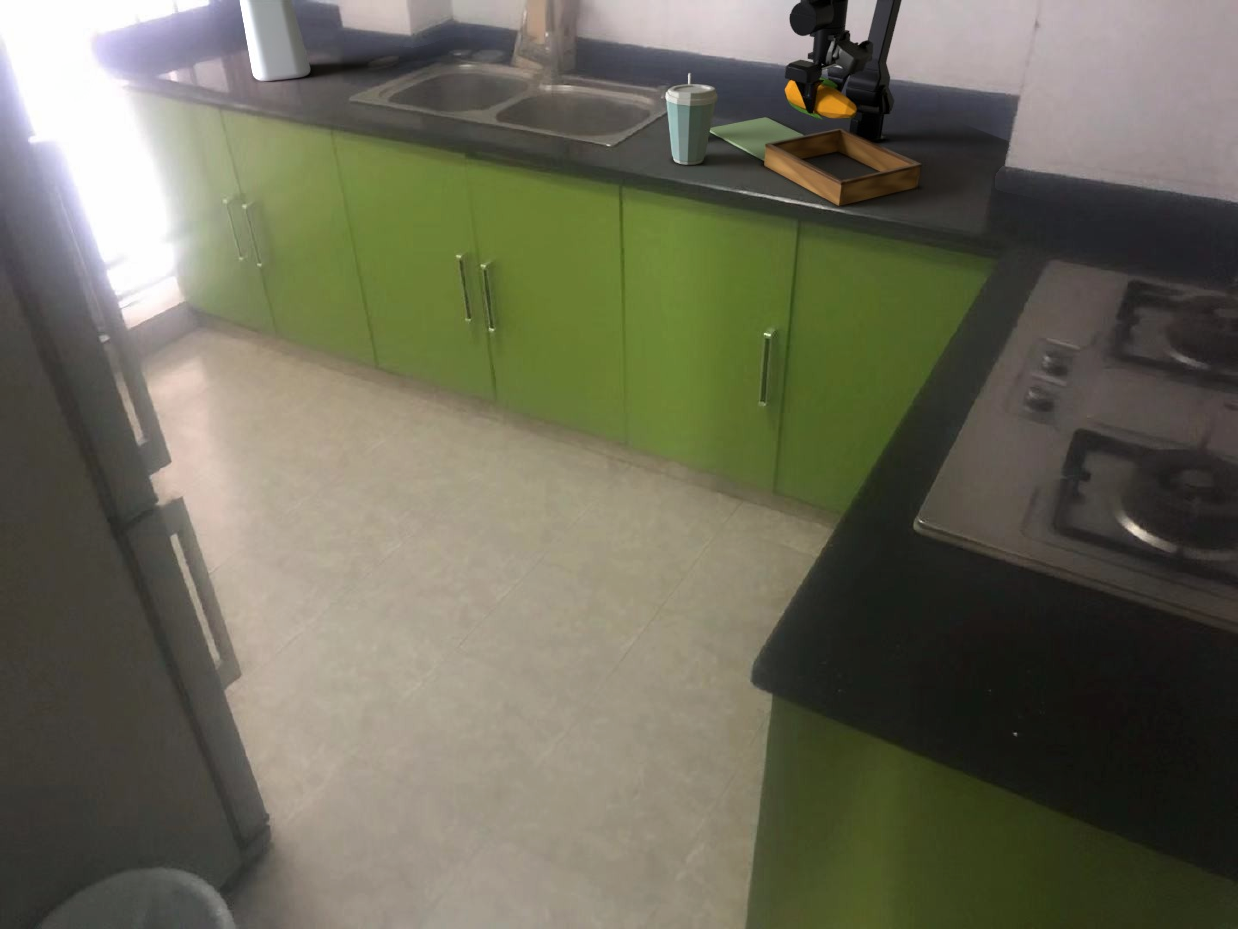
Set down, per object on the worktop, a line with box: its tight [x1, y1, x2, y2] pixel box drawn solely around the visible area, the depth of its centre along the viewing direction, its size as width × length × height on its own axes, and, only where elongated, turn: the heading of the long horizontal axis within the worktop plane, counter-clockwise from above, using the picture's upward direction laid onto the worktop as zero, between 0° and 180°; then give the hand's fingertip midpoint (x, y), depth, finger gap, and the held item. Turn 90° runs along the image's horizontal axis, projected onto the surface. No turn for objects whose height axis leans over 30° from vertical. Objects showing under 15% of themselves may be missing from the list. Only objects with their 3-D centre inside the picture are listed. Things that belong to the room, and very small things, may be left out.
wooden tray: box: [763, 127, 922, 207], centre depth 190 cm, size 19×25×5 cm
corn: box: [784, 76, 857, 121], centre depth 188 cm, size 7×8×20 cm
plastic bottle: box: [239, 0, 311, 82], centre depth 253 cm, size 15×15×28 cm
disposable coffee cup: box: [664, 83, 719, 166], centre depth 196 cm, size 11×11×15 cm
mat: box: [710, 116, 806, 162], centre depth 209 cm, size 16×24×1 cm, turn 27°
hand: (821, 108), depth 190 cm, fingers closed on corn, 7 cm apart
